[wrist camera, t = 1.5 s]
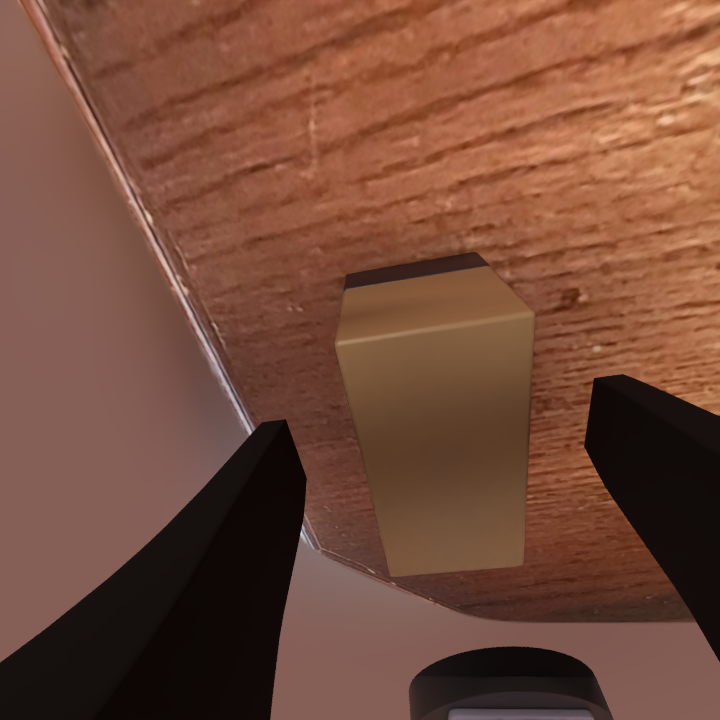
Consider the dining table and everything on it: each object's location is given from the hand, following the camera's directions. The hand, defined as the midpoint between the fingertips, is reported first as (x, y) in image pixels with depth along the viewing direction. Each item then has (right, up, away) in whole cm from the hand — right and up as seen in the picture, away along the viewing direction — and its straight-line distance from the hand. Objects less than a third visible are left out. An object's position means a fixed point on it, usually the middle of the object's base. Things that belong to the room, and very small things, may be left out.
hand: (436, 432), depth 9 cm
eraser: (0, +1, +2) cm, 3 cm away
